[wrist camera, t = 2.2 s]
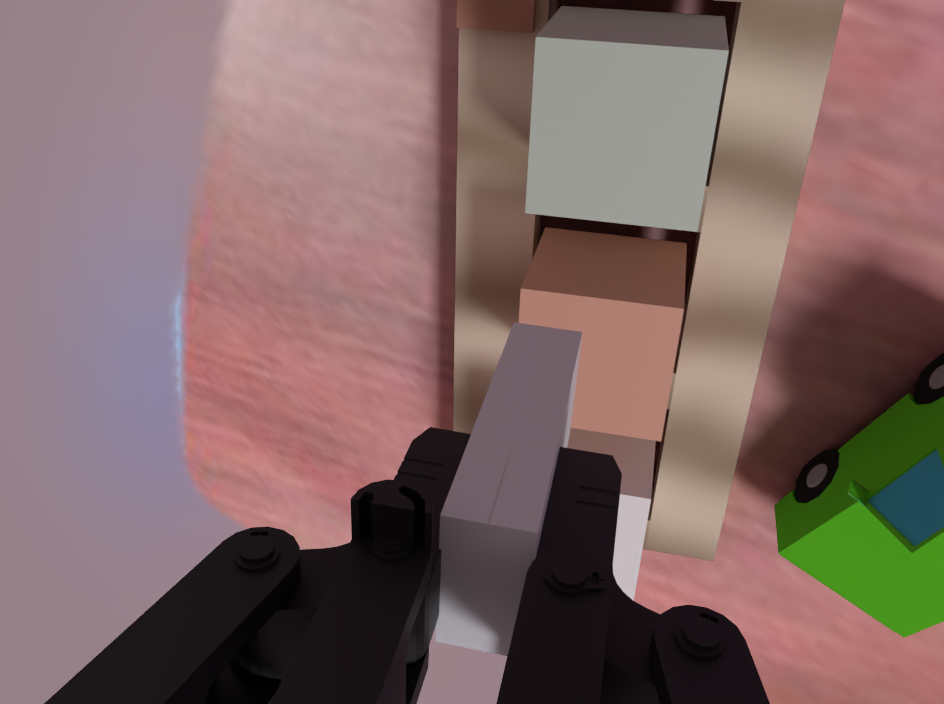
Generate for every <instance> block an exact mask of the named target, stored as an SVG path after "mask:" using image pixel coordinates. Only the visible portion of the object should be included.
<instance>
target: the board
mask: <svg viewBox="0 0 944 704" xmlns="http://www.w3.org/2000/svg"><path fill="white" fill-rule="evenodd" d="M715 1H731V2H737V6H736V12H735V18H734V23H733V29H732V35H731V41H730V46H729V53H728V59H727V65H726V70H725V76H724V82H723V88H722V93H721V99H720V105H719V111H718V117H717V122H716V128H715V134H714V140H713V145H712V151H711V157H710V163H709V168H708V174H707V180H706V186H705V192H704V197H703V203H702V209H701V215H700V220H699V226H698V232H697V237H696V243H695V248H694V254H693V260H692V266H691V272H690V277H689V283H688V289H687V295H686V300H685V306H684V313H683V318H682V324H681V330H680V336H679V342H678V347H677V353H676V359H675V365H674V370H673V376H672V382H671V388H670V393H669V399H668V405H667V411H666V416H665V422H664V428H663V434H662V440H661V445H660V450H659V456H658V462H657V468H656V474H655V479H654V485H653V490H652V495H651V503H650V509H649V515H648V520H647V526H646V532H645V538H644V543H643V549H646V550H652V551H658V552H663V553H669V554H675V555H680V556H686V557H692V558H697V559H703V560H709V561H714V557H715V553H716V548H717V544H718V540H719V536H720V531H721V527H722V523H723V518H724V514H725V510H726V506H727V501H728V497H729V493H730V489H731V484H732V480H733V476H734V472H735V467H736V463H737V459H738V455H739V450H740V446H741V442H742V437H743V433H744V429H745V425H746V420H747V416H748V412H749V408H750V403H751V399H752V395H753V391H754V386H755V382H756V378H757V374H758V369H759V365H760V361H761V356H762V352H763V348H764V344H765V339H766V335H767V331H768V327H769V322H770V318H771V314H772V310H773V305H774V301H775V297H776V293H777V288H778V284H779V280H780V275H781V271H782V267H783V263H784V258H785V254H786V250H787V246H788V241H789V237H790V233H791V229H792V224H793V220H794V216H795V212H796V207H797V203H798V199H799V195H800V190H801V186H802V182H803V177H804V173H805V169H806V165H807V160H808V156H809V152H810V148H811V143H812V139H813V135H814V131H815V126H816V122H817V118H818V114H819V109H820V105H821V101H822V96H823V92H824V88H825V84H826V79H827V75H828V71H829V67H830V62H831V58H832V54H833V50H834V45H835V41H836V37H837V33H838V28H839V24H840V20H841V15H842V11H843V7H844V3H845V0H715ZM557 5H558V0H457V28H459V60H458V128H457V195H456V263H455V331H454V399H453V431H456V432H462V433H468V434H471V433H472V430H473V428H474V425H475V423H476V420H477V417H478V415H479V412H480V409H481V407H482V404H483V402H484V399H485V396H486V394H487V391H488V388H489V386H490V383H491V381H492V378H493V375H494V373H495V370H496V367H497V365H498V362H499V360H500V357H501V354H502V352H503V349H504V346H505V344H506V341H507V339H508V336H509V333H510V331H511V328H512V326H513V323H514V322H516V323H519V308H520V292H521V286H522V284H523V281H524V279H525V277H526V274H527V272H528V269H529V267H530V264H531V262H532V259H533V257H534V254H535V252H536V249H537V247H538V244H539V242H540V239H541V231H542V216H543V215H537V214H528V213H525V208H526V191H527V174H528V157H529V140H530V123H531V107H532V90H533V73H534V56H535V39H536V36H537V35H538V33H539V32H540V31H541V30H542V29H543V27H544V26H545V25H546V24H547V23H548V21H549V20H550V19H551V18H552V17H553V16H554V14H555V13H556V12H557ZM546 216H547V215H546ZM555 217H556V216H555ZM564 218H565V217H564ZM573 219H574V218H573ZM582 220H583V219H582ZM591 221H592V220H591ZM610 223H611V222H610ZM619 224H620V223H619ZM628 225H629V224H628ZM637 226H638V225H637ZM646 227H647V226H646ZM655 228H656V227H655ZM665 229H666V228H665ZM674 230H675V229H674ZM683 231H684V230H683ZM692 232H693V231H692Z"/></svg>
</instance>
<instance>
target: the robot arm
mask: <svg viewBox="0 0 944 704" xmlns="http://www.w3.org/2000/svg"><path fill="white" fill-rule="evenodd" d="M581 340H582V332H579V331H572V330H565V329H558V328H551V327H544V326H537V325H530V324H523V323H516V322H514V323H513V326H512V328H511V331H510V333H509V336H508V339H507V341H506V344H505V346H504V349H503V352H502V354H501V357H500V360H499V362H498V365H497V367H496V370H495V373H494V375H493V378H492V381H491V383H490V386H489V388H488V391H487V394H486V396H485V399H484V402H483V404H482V407H481V409H480V412H479V415H478V417H477V420H476V423H475V425H474V428H473V430H472V433H471V434H468V433H462V432H456V431H450V430H444V429H438V428H432V427H430V428H429V429H427V430H426V431H425V432H423V433H422V434H421V435H419V436H418V437H417V438H415V439H414V440H413V441H412V443H411V445H410V447H409V449H408V451H407V453H406V455H405V457H404V461H403V462H402V464H401V466H400V468H399V470H398V474H397V475H396V476H395V478H394V480H384V481H379V482H374V483H371V484H369V485H367V486H365V487H363V488H361V489H359V490H358V491H357V492H356V494H355V495H354V496H353V497H352V498H351V523H352V540H351V542H350V543H347V544H344V545H341V546H338V547H332V548H324V549H307V550H300V547H299V545H298V543H297V542H296V540H295V538H294V537H293V536H291V535H290V534H288V533H287V532H285V531H284V530H281V529H276V528H271V527H255V528H249V529H246V530H243V531H240V532H237V533H235V534H234V535H232V536H231V537H229V538H227V539H226V540H224V541H223V542H222V543H221V544H220V545H219V546H218V547H216V548H215V549H214V550H213V551H212V552H211V553H210V554H209V555H208V556H206V557H205V558H204V559H203V560H202V561H201V562H200V563H199V564H198V565H197V566H195V567H194V568H193V569H192V570H191V571H190V572H189V573H188V574H187V575H186V576H185V577H183V578H182V579H181V580H180V581H179V582H178V583H177V584H176V585H175V586H173V587H172V588H171V589H170V590H169V591H168V592H167V593H166V594H165V595H163V596H162V597H161V598H160V599H159V600H158V601H157V602H156V603H155V604H154V605H153V606H152V607H150V608H149V609H148V610H147V611H146V612H145V613H144V614H143V615H141V616H140V617H139V618H138V619H137V620H136V621H135V622H134V623H133V624H132V625H131V626H129V627H128V628H127V629H126V630H125V631H124V632H123V633H122V634H121V635H119V636H118V637H117V638H116V639H115V640H114V641H113V642H112V643H111V644H110V645H108V646H107V647H106V648H105V649H104V650H103V651H102V652H101V653H100V654H98V656H96V657H95V658H94V659H93V660H92V661H91V662H90V663H89V664H87V665H86V666H85V667H84V668H83V669H82V670H81V671H80V672H79V673H77V674H76V675H75V676H74V677H73V678H72V679H71V680H70V681H69V682H68V683H66V684H65V685H64V686H63V687H62V688H61V689H60V690H59V691H58V692H57V693H55V694H54V695H53V696H52V697H51V698H50V699H49V700H48V701H47V702H45V703H44V704H416V703H417V700H418V697H419V694H420V691H421V688H422V685H423V681H424V678H425V675H426V672H427V669H428V659H429V644H430V640H431V637H432V634H433V631H434V628H435V625H436V641H437V642H442V643H446V644H451V645H457V646H461V647H466V648H471V649H476V650H480V651H486V652H490V653H495V654H500V655H505V656H507V661H506V665H505V670H504V674H503V678H502V683H501V687H500V691H499V696H498V700H497V704H770V703H769V700H768V698H767V695H766V693H765V690H764V687H763V685H762V682H761V679H760V677H759V674H758V672H757V669H756V666H755V664H754V661H753V659H752V656H751V653H750V651H749V648H748V645H747V643H746V640H745V639H744V637H743V635H742V634H741V632H740V631H739V629H738V627H737V626H736V625H735V624H733V623H732V622H731V621H730V620H728V619H727V618H726V617H725V616H724V615H722V614H720V613H717V612H715V611H713V610H711V609H708V608H706V607H699V606H693V605H684V606H677V607H672V608H671V609H669V610H667V611H665V612H664V613H662V614H661V615H660V614H658V613H656V612H654V611H651V610H649V609H647V608H645V607H643V606H642V605H640V604H638V603H636V602H635V601H633V600H632V599H631V598H630V597H628V596H627V595H626V594H625V593H624V592H623V591H622V589H621V588H620V587H619V585H618V584H617V582H616V580H615V577H614V575H613V556H614V547H615V537H616V527H617V518H618V508H619V498H620V489H621V479H622V473H621V471H620V469H619V467H618V465H617V463H616V461H615V459H614V457H613V455H607V454H601V453H595V452H589V451H583V450H577V449H571V448H567V445H568V440H569V435H570V427H571V419H572V411H573V403H574V396H575V388H576V380H577V372H578V364H579V356H580V348H581Z"/></svg>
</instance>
